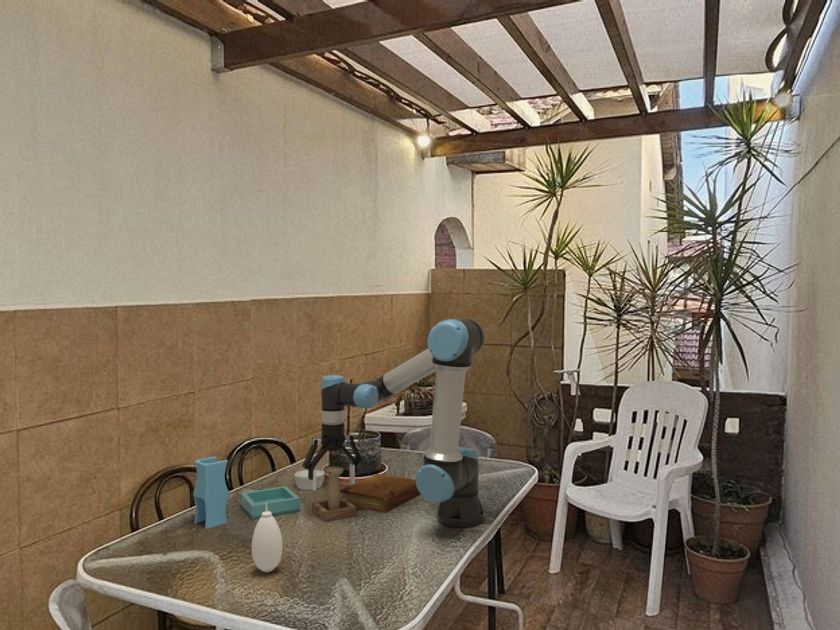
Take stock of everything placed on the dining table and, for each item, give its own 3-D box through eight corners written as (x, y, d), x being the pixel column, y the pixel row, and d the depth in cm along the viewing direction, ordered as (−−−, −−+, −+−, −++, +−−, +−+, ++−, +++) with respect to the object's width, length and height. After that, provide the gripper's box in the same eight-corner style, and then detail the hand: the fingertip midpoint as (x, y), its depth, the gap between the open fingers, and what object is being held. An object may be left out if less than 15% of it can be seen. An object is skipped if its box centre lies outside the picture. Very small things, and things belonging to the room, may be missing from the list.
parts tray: (300, 511, 209) (300, 498, 209) (252, 519, 202) (252, 506, 201) (286, 498, 223) (286, 486, 223) (241, 506, 216) (240, 493, 216)
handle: (339, 517, 203) (338, 471, 203) (322, 515, 205) (321, 469, 205) (346, 512, 208) (345, 467, 207) (329, 510, 210) (328, 466, 210)
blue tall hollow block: (229, 522, 200) (228, 460, 199) (206, 529, 194) (205, 465, 193) (216, 516, 205) (215, 456, 204) (193, 523, 199) (192, 460, 199)
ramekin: (330, 485, 240) (330, 471, 239) (310, 492, 230) (310, 478, 230) (308, 481, 246) (308, 467, 245) (288, 488, 236) (288, 474, 236)
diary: (385, 515, 207) (384, 497, 207) (340, 506, 216) (340, 489, 216) (420, 495, 227) (420, 479, 226) (378, 488, 236) (377, 473, 236)
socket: (356, 516, 204) (356, 507, 204) (324, 522, 199) (324, 512, 199) (343, 505, 214) (342, 497, 214) (312, 511, 209) (312, 502, 209)
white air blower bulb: (284, 575, 160) (282, 505, 160) (252, 579, 158) (251, 508, 158) (281, 563, 168) (280, 496, 167) (251, 566, 165) (250, 499, 165)
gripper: (363, 417, 215) (363, 478, 216) (292, 424, 203) (292, 488, 204) (372, 420, 209) (372, 483, 209) (299, 428, 197) (300, 494, 197)
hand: (333, 486), depth 207 cm, fingers open, 13 cm apart
